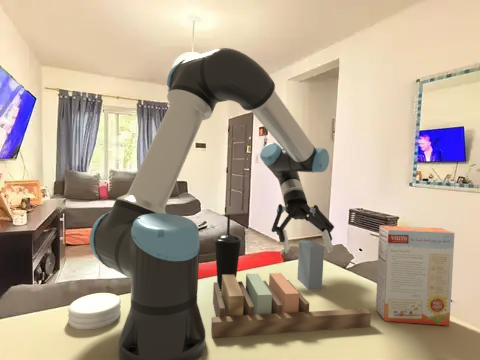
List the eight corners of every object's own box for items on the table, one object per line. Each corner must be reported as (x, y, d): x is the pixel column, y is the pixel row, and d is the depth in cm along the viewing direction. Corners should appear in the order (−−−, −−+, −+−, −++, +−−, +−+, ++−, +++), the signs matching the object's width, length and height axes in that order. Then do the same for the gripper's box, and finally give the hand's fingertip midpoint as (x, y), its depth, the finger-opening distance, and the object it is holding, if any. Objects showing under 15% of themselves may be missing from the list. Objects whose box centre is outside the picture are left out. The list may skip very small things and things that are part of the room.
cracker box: (434, 313, 69) (440, 227, 68) (450, 327, 63) (457, 232, 62) (373, 308, 71) (378, 223, 70) (383, 321, 65) (389, 228, 64)
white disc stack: (104, 333, 56) (104, 315, 56) (56, 328, 57) (56, 311, 57) (128, 309, 66) (129, 294, 66) (87, 305, 67) (88, 290, 67)
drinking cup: (228, 279, 86) (231, 212, 85) (245, 288, 80) (248, 216, 79) (206, 285, 81) (209, 214, 80) (223, 295, 75) (226, 218, 74)
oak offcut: (228, 330, 59) (229, 296, 59) (221, 302, 71) (222, 274, 71) (242, 329, 60) (243, 295, 59) (233, 302, 71) (234, 274, 71)
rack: (212, 337, 56) (213, 312, 56) (206, 302, 70) (207, 282, 70) (370, 326, 62) (371, 303, 62) (335, 296, 77) (336, 278, 76)
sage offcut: (256, 328, 60) (258, 295, 60) (245, 301, 72) (246, 273, 72) (270, 327, 61) (272, 294, 61) (256, 301, 73) (257, 273, 72)
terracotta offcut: (284, 326, 61) (285, 293, 61) (268, 300, 73) (269, 273, 73) (297, 325, 62) (299, 293, 62) (279, 300, 74) (280, 272, 73)
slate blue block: (308, 289, 80) (310, 247, 80) (297, 278, 88) (299, 239, 88) (321, 289, 81) (324, 246, 81) (309, 278, 89) (311, 239, 89)
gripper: (323, 203, 105) (342, 256, 91) (256, 201, 101) (266, 257, 87) (331, 189, 100) (353, 244, 86) (261, 187, 96) (272, 244, 81)
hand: (309, 251), depth 86 cm, fingers open, 13 cm apart
